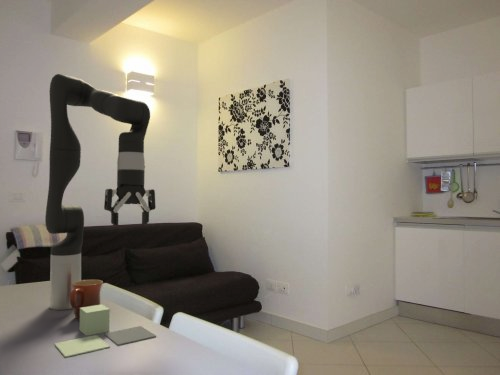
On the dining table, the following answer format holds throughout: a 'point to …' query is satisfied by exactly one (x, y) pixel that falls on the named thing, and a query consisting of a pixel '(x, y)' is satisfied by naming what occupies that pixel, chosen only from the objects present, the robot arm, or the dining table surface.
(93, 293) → the mug
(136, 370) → the dining table surface
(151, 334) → the grey pad
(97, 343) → the sage pad
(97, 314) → the pale green cube
